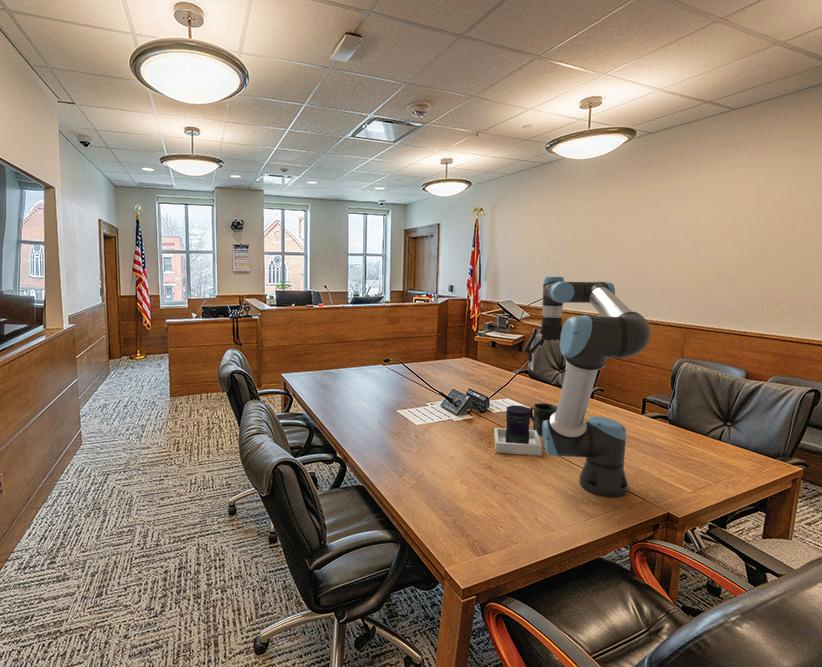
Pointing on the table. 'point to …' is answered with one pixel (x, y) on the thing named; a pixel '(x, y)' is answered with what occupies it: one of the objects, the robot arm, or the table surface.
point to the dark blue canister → (517, 424)
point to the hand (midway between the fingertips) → (549, 370)
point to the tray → (517, 444)
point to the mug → (541, 415)
